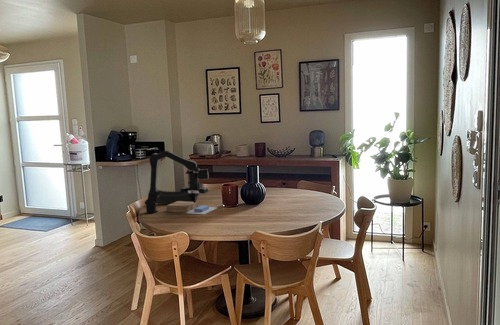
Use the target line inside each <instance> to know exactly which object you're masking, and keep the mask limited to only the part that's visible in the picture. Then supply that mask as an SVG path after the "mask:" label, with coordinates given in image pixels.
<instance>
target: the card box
mask: <svg viewBox="0 0 500 325" xmlns="http://www.w3.org/2000/svg"><path fill="white" fill-rule="evenodd" d="M209 207H210V206H209V205H198V207H196V208H194V212H203V211H205V210H207V209H209Z"/></svg>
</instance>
